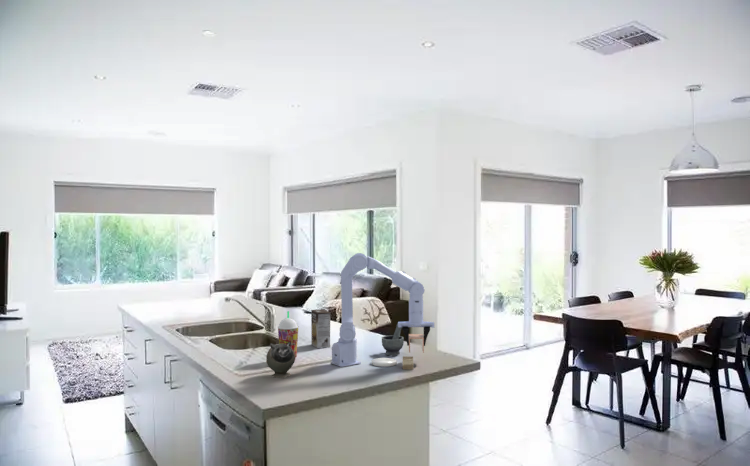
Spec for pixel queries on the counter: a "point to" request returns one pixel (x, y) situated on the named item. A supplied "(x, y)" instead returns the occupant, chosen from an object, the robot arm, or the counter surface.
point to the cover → (417, 336)
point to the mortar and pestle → (393, 342)
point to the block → (407, 362)
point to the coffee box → (320, 328)
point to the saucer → (384, 362)
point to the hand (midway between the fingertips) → (416, 345)
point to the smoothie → (288, 332)
